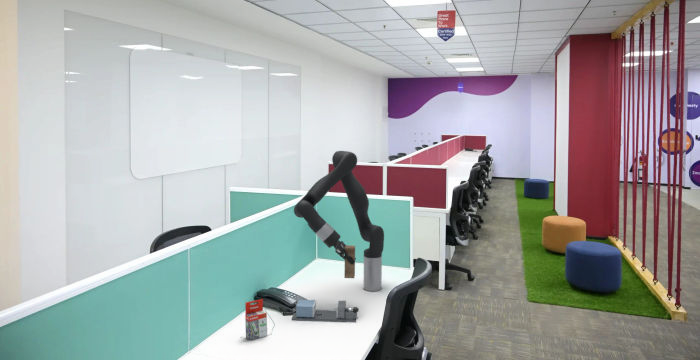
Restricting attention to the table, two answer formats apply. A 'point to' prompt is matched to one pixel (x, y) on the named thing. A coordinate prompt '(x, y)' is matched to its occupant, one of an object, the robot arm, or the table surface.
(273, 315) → the table surface
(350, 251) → the walnut block
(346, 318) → the vise
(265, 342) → the table surface
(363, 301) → the table surface
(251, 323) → the ink box
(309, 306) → the sliding jaw
